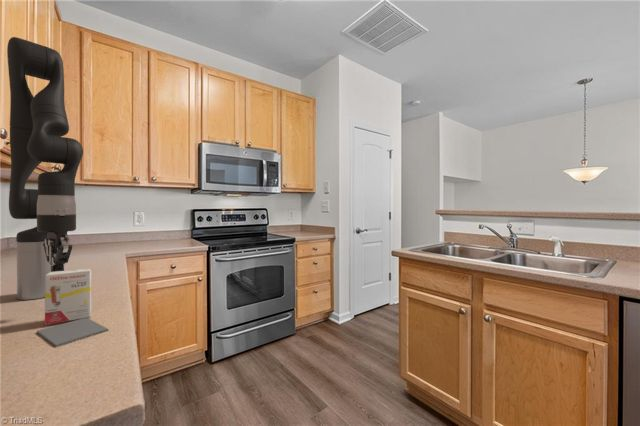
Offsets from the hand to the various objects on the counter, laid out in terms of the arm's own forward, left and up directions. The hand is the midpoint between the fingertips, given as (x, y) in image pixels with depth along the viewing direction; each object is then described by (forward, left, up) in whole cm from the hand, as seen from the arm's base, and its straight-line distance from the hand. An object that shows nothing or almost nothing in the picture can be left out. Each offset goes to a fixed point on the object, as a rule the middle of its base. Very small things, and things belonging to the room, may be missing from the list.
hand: (57, 279), depth 74 cm
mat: (+17, -2, -9) cm, 19 cm away
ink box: (+8, 0, -9) cm, 12 cm away
